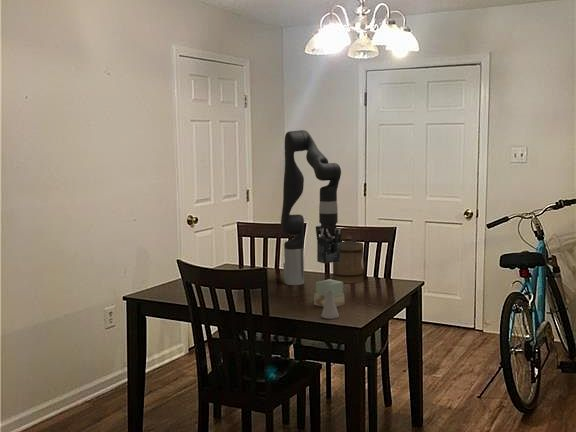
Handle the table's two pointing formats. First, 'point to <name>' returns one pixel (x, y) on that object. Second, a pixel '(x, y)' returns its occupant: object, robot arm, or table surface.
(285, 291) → the table surface
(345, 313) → the table surface
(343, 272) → the wooden container
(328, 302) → the flask
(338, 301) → the tower base
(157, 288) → the table surface
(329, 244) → the box
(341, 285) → the tower top
